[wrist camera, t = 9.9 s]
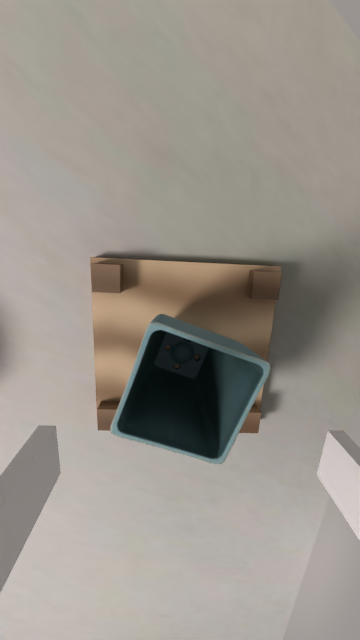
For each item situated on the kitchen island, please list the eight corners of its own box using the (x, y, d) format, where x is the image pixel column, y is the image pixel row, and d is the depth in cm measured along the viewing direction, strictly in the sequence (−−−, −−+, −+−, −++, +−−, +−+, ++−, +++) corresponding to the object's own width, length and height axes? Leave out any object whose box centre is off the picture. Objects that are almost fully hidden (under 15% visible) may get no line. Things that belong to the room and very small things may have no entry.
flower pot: (239, 326, 25) (276, 365, 16) (206, 399, 27) (222, 468, 18) (157, 296, 24) (149, 319, 15) (129, 374, 26) (107, 434, 17)
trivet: (94, 257, 24) (84, 257, 21) (275, 266, 25) (288, 267, 22) (100, 417, 28) (93, 434, 26) (253, 420, 29) (261, 437, 26)
